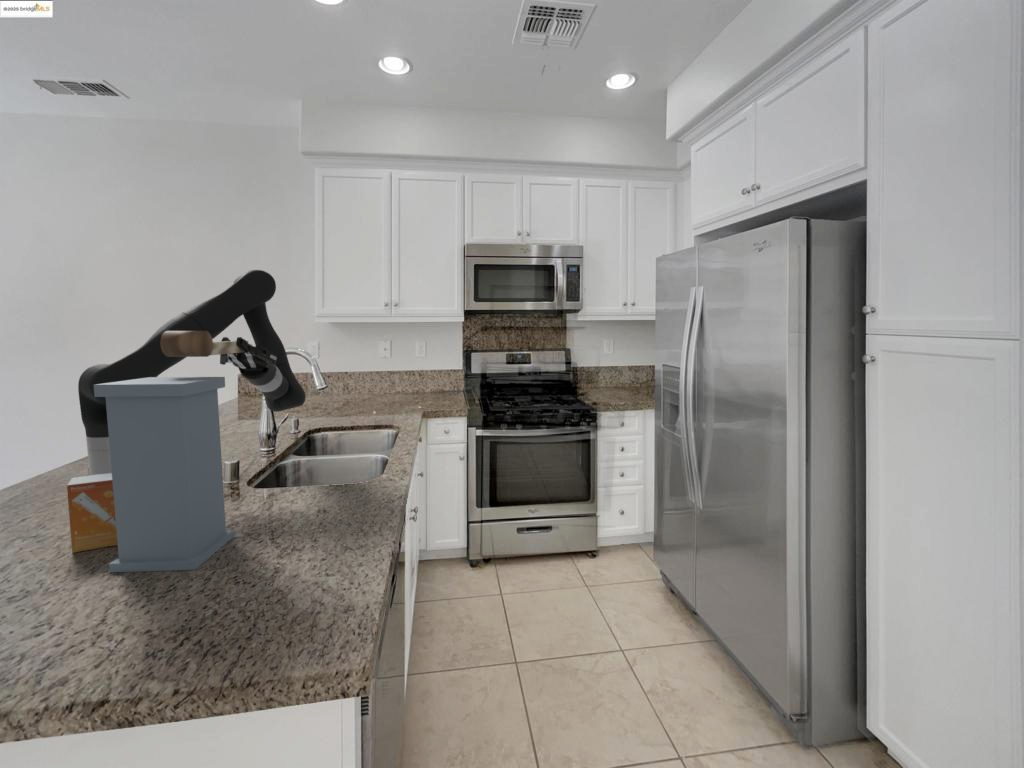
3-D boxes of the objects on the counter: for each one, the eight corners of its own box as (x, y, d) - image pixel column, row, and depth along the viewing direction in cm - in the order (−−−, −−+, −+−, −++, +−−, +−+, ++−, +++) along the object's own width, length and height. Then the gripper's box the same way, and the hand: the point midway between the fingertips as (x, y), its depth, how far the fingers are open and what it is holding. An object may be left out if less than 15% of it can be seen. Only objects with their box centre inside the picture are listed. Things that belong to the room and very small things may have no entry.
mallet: (199, 357, 96) (197, 330, 96) (161, 357, 96) (159, 330, 95) (258, 351, 121) (257, 330, 120) (228, 351, 121) (226, 330, 120)
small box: (71, 554, 93) (65, 485, 92) (77, 542, 99) (71, 476, 97) (126, 544, 98) (121, 478, 96) (129, 533, 103) (124, 470, 102)
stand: (109, 572, 86) (93, 384, 83) (160, 539, 100) (148, 377, 97) (195, 569, 87) (182, 384, 84) (234, 537, 101) (224, 376, 98)
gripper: (237, 360, 132) (202, 326, 116) (291, 359, 133) (265, 326, 117) (231, 386, 129) (195, 355, 113) (287, 386, 130) (259, 355, 114)
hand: (231, 340), depth 115 cm, fingers closed on mallet, 2 cm apart
